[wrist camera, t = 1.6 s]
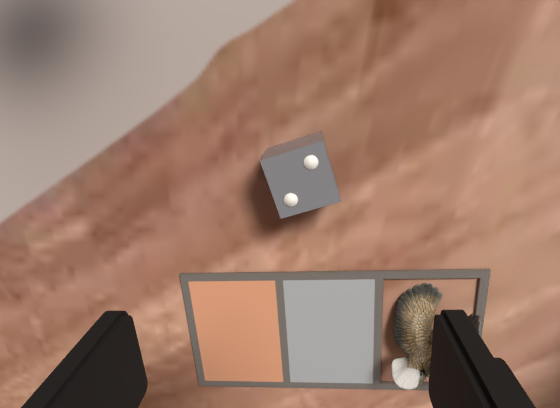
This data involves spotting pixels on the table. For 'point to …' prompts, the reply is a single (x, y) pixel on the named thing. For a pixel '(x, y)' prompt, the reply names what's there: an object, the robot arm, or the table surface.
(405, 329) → the eagle figurine
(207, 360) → the board
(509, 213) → the table surface
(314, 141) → the die
